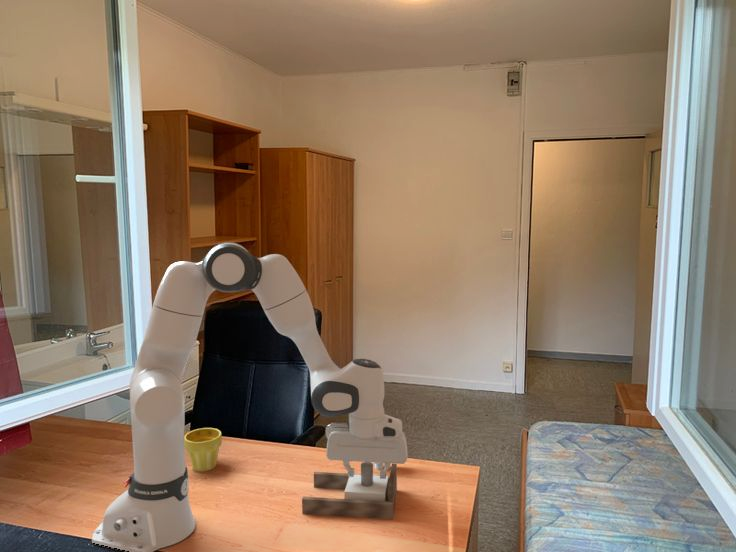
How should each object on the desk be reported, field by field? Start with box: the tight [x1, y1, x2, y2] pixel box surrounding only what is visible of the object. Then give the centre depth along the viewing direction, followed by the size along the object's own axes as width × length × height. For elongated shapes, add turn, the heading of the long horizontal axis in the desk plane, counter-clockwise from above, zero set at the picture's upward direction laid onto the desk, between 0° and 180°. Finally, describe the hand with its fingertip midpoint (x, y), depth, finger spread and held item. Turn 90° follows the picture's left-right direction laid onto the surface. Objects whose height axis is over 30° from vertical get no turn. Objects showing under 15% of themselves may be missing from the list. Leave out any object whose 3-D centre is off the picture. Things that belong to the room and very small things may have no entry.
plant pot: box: [184, 427, 223, 472], centre depth 160 cm, size 10×10×10 cm
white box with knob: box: [344, 462, 389, 502], centre depth 138 cm, size 10×9×10 cm
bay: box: [301, 463, 398, 521], centre depth 138 cm, size 22×14×9 cm, turn 83°
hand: (367, 477), depth 137 cm, fingers open, 7 cm apart
